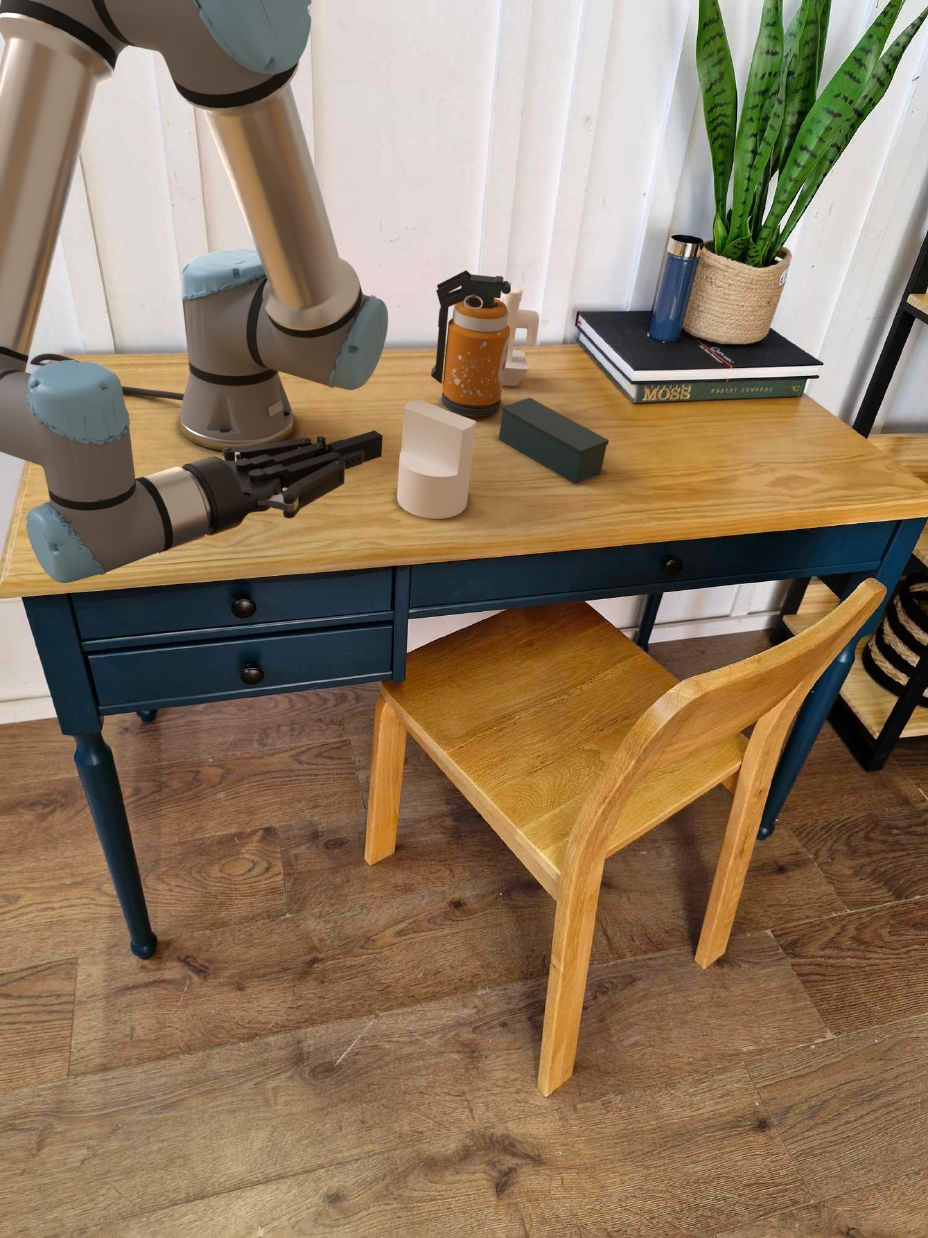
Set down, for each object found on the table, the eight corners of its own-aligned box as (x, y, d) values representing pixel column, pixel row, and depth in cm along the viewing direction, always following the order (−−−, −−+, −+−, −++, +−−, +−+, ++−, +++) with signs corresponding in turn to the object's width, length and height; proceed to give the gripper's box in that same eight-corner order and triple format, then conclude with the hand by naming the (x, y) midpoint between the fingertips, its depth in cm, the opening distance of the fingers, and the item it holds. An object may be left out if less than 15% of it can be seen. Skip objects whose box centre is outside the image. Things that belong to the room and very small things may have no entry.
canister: (499, 423, 137) (517, 288, 125) (425, 415, 137) (436, 280, 125) (499, 397, 144) (516, 267, 132) (429, 390, 144) (439, 259, 132)
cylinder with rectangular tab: (479, 498, 120) (490, 413, 113) (442, 527, 114) (451, 439, 106) (422, 474, 123) (429, 390, 116) (382, 501, 117) (387, 414, 110)
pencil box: (497, 438, 133) (501, 406, 130) (524, 429, 137) (529, 397, 134) (574, 484, 125) (581, 450, 122) (602, 472, 129) (609, 440, 125)
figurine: (532, 391, 147) (547, 298, 138) (473, 387, 146) (484, 293, 137) (527, 372, 153) (541, 281, 144) (470, 368, 152) (481, 276, 143)
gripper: (164, 505, 98) (343, 449, 112) (230, 563, 91) (412, 496, 105) (157, 441, 94) (344, 391, 107) (225, 497, 87) (417, 436, 100)
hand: (377, 443), depth 106 cm, fingers closed
